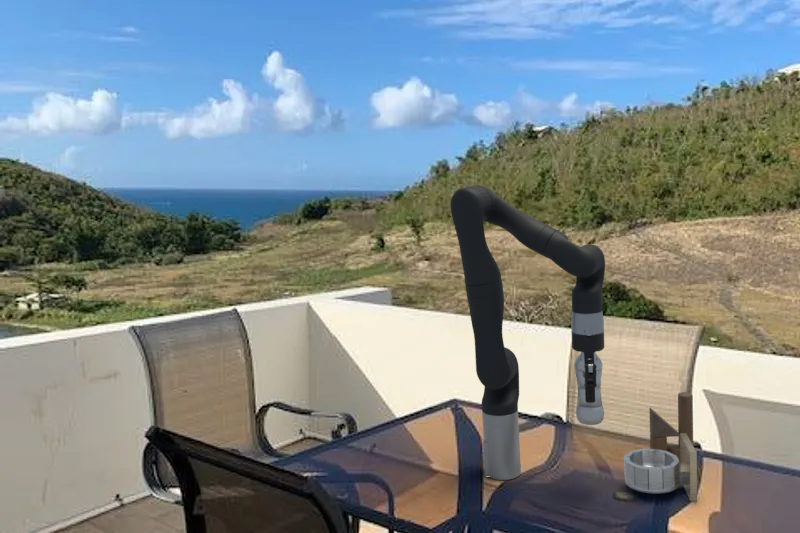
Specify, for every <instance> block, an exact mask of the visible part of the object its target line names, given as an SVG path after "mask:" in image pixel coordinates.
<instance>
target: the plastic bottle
mask: <svg viewBox="0 0 800 533" xmlns="http://www.w3.org/2000/svg"><path fill="white" fill-rule="evenodd" d="M580 358H581V361H580ZM596 358H597V361H598V363H597V361H596ZM594 364H596V366H597V368H596V370H597V377H596V384H597V386H596V387H595V402H594V403H587V402H586V400H585V386H584V384H585V381H584V377H582V370H583V371H584V373H585V368H584V366H585V364H584V353H583V352H579V355H577V357H576V359H575V361H574V365H573V366H574V371H575V378H576V386H577V397H576V398H577V399H576V400H577V401H576V406H575V417H576V420H577V421H578V422H579V423H580V424H582V425H586V426H595V425H600V424H601V423H602V422H603V421H604V420H605V419H604V418H605V409H604V405H603V401H602V398H603V397H602V390H601V389H602V388H601V387H602V374H603V363H602V360H601V358H600V357H599V355H598V354H597V353H596V352H594ZM587 382H593V379H588V380H587Z"/></svg>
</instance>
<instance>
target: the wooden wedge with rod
mask: <svg viewBox="0 0 800 533" xmlns="http://www.w3.org/2000/svg"><path fill="white" fill-rule="evenodd" d="M693 399H694V398H693V393H691V392H687V391H681V392H678V394H677V422H678V426H677V428H678V430H677V429H676V428H674V427H673V426H672V425H671V424H670V423H669V422H668V421H667V420H665V419H664V418H663V417H662V416H661V415H660V414H658V413H657V412H656V411H655V410H654V409H653V408H652V407H649V442H650V443H649V444H650V447H649V449H658V450H663V451H667V452H670V453H672V454H674V455H676V456H677V457H678V459H679V463H680V433H686V434H687V436H688V437H689V439H690V441H691V443H692V445H693V446H694V407H693V406H694V405H693V402H694V401H693ZM669 437H670V438H671V437H678V444H668V438H669Z"/></svg>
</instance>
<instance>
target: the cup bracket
mask: <svg viewBox="0 0 800 533" xmlns="http://www.w3.org/2000/svg"><path fill="white" fill-rule="evenodd" d="M697 456H698V452H697V450H696V448H695V447H694V444H693V445H692V443H691V441H690V439H689V437H688V436H687V434H686V433H680V462H679V459H678V457H677V456H676V455H674V454H672V453H670V452H667V451H663V450H658V449H650V448H638V449H634V450H630V451H628V452H627V453H626V454H625V455H624V456H623V471H624V472H623V473H624V474H623V475H624V482H625V485H626V486H628V488H630V489H632V490H634V491H637V492H640V493H644V494H645V493H646V494H652V495H653V494H654V495H657V494H666V493H671V492H674V491H675V490H677V489H678V488H679V486H683V488H684V490H685V493H686V494H687V496H688V499H689V501H690V502H693V503H694V502H695V503H696V502H698V457H697Z"/></svg>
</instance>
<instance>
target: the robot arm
mask: <svg viewBox="0 0 800 533" xmlns="http://www.w3.org/2000/svg"><path fill="white" fill-rule="evenodd" d="M450 212H451V218H452V221H453V225H454V230H455V232H456V236H457V240H458V244H459V245H458V246H459V250H460V257H461V258H460V259H461V264H462V269H463V276H464V284H465V292H466V298H467V299H466V300H467V303H468V308H469V315H470V321H471V326H472V331H473V338H474V339H473V340H474V350H475V370H476V371H475V372H476V376H477V379H478V380H479V382H480V383H481V384H482V385H483V387H484V388H483V389H484V390H483V396H482V400H481V414H482V416H481V417H482V433H483V437H482V438H483V441H482V447H483V448H482V449H483V467H484V468H483V469H484V477H485V476H490V477H491V478H490V479H492V478H493V480H499V481H508V480H512V479H515V478H518V477H519V476H520V475H521V474H522V469H521V468H522V467H521V466H522V464H521V449H520V448H521V447H520V424H519V407H518V406H519V397H520V370H519V368H520V366H519V361H518V359H517V356H516V355H515V353H514V351H512V350H511V349H509V348H508V347H505V344H504V336H503V325H504V324H503V322H504V311H505V294H504V286H503V285H504V284H503V280H502V273H501V272H500V271H501V270H500V269H499V266H498V264H497V261H496V259H495V258H494V256H493V254H492V253H491V251H490V249H489V248H490V247H489V246H488V243H487V240H486V234H485V226H484V222H486V223H489V224H492V225H495V226H498V227H499V228H501V229H503V230H505V231H507V233H508V234H510V235H512V237H514V238H515V239H516V240H517V241H518V242H519V243H521V244H522V245H523V246H524V247H526V248H528V249H529V250H531V251H533V252H535V253H537V254H539V255H541V256H543V257H544V258H547V259H549V260H551V261H552V262H553V263H554V264H555V265H557V266H558V267H559V268H561V269H562V270H563V271H565V272H566V273H568V274H570V275H572V276H573V277H576V279H575V280H576V281H575V285H574V287H573V289H572V290H571V291H572V292H571V318H570V319H571V320H570V322H571V323H570V324H571V325H570V326H571V327H570V328H571V348H572V349H573V351H576V352H579V353H581V352H583V353H584V364H585V366H584V368H585V373H584V371H583V370H582V377H584V381H585V384H584V386H585V400H586V402H587V403H594V402H595V387H596V386H597V384H596V377H597V370H596V368H597V366H596V364H594V352H595V353H596V352H601V351H603V350H604V349H605V319H604V313H603V294H602V292H603V286H604V279H605V272H606V271H605V270H606V258H605V255H604V252H603V250H602V249H601V248H600V247H599V246H597V245H596V244H591V243H588V244H584V245H581V246H580V245H579V244H575V243H574V242H572V241H571V240H569V237H568V236H567V235H566V234H565V233H564V232H562V231H560V230H559V229H556V228H554V227H552V226H550V225H548V224H546V223H544V222H542V221H540V220H538V219H536V218H535V217H532V216H530V215H528V214H526V213H525V212H523V211H521V210H520V209H518V208H517V207H515V206H514V205H512V204H511V203H509V202H507V201H506V200H505V199H503V198H502V197H500V196H499V195H498V194H496V193H495V192H494V191H492V190H491V189H489V188H488V187H486V186H484V185H480V184H478V185H477V184H476V185H475V184H474V185H471V186H465V187H462V188H460V189H459V188H458V189H457V190H456V191H455V192H454V193H453V195H452V197H451V199H450ZM580 361H581V358H580ZM596 361H597V358H596ZM597 363H598V361H597ZM588 379H593V382H587V380H588Z"/></svg>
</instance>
